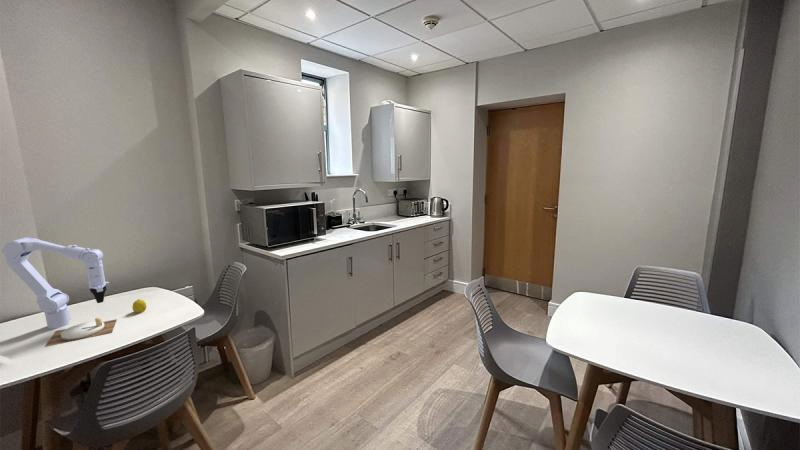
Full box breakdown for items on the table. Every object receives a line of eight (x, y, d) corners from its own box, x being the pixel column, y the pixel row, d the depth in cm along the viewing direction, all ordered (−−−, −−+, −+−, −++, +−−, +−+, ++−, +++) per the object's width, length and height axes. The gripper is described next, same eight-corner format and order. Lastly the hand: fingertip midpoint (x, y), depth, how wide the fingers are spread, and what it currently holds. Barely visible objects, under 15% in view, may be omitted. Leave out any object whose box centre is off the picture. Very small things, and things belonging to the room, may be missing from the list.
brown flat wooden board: (56, 333, 146) (55, 330, 146) (117, 322, 158) (116, 318, 158) (44, 350, 133) (44, 346, 133) (112, 336, 145) (111, 332, 145)
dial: (55, 342, 136) (53, 331, 135) (68, 328, 148) (66, 318, 147) (99, 335, 143) (97, 324, 142) (108, 321, 155) (107, 311, 154)
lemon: (139, 316, 164) (137, 301, 162) (130, 315, 165) (128, 300, 163) (150, 312, 169) (148, 297, 168) (141, 311, 170) (139, 296, 169)
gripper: (109, 276, 152) (113, 303, 154) (104, 269, 161) (108, 295, 163) (89, 280, 146) (93, 308, 149) (85, 273, 156) (89, 300, 158)
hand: (100, 302), depth 156 cm, fingers closed
